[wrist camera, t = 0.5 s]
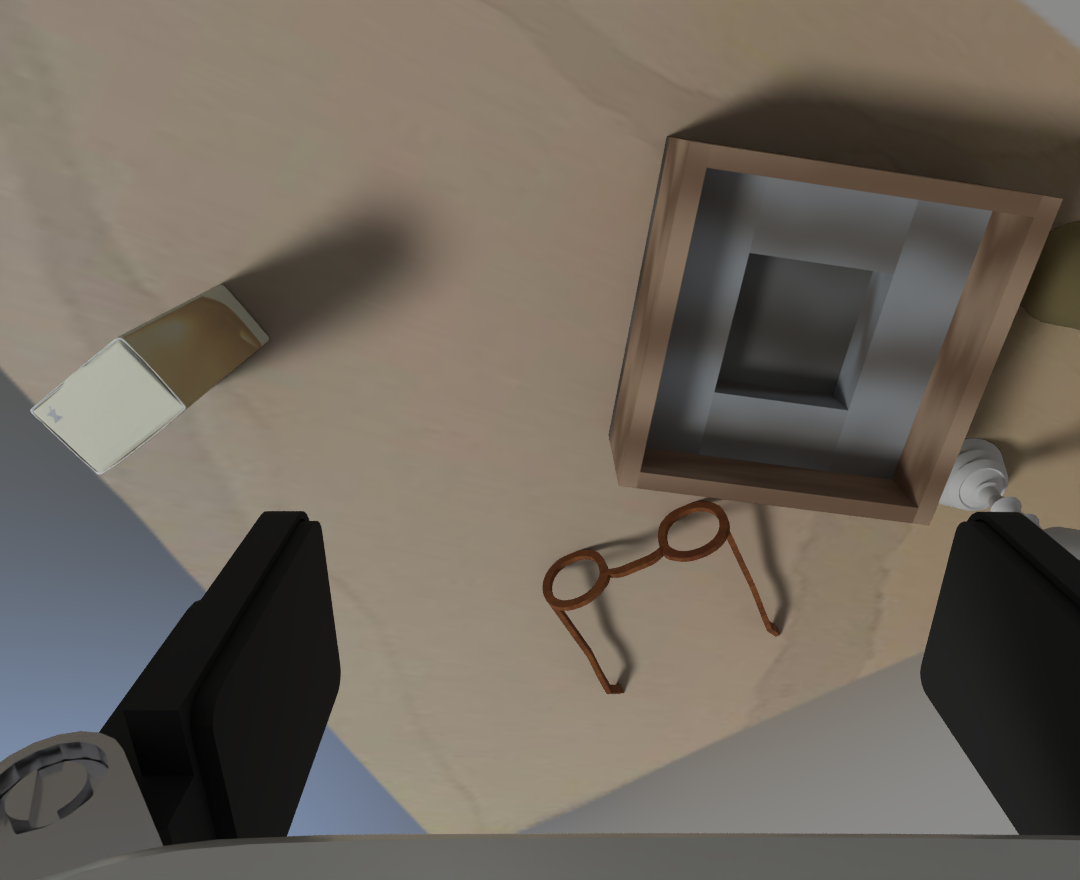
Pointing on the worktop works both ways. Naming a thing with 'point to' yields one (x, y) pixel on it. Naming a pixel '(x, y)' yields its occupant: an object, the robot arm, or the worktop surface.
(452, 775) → the worktop surface
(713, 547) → the glasses
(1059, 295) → the cork
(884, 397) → the wooden box
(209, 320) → the skincare box
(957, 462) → the chalice
